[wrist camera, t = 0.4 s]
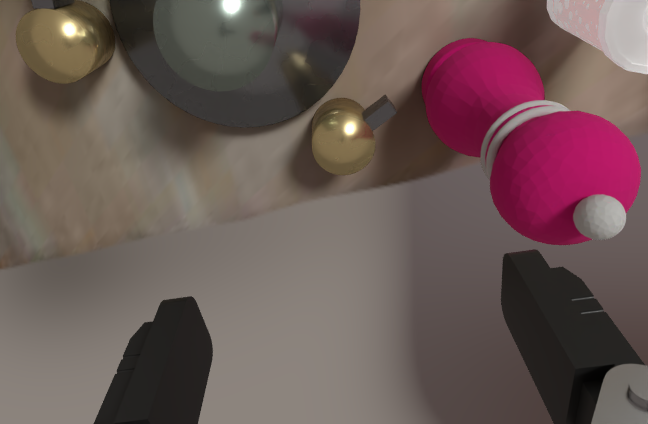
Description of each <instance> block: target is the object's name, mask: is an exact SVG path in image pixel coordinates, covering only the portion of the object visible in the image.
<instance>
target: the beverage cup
mask: <svg viewBox="0 0 648 424" xmlns="http://www.w3.org/2000/svg"><path fill="white" fill-rule="evenodd" d="M547 10H548V13H549V15H550V18H551V20H552V21H553V22H554V23H556V24H557V25H558V26H559V27H560V28H562V29H564V30H566V31H568V32H569V33H571V34H573V35H575V36H576V37H578V38H580V39H582V40H584V41H585V42H587V43H589V44H591V45H592V46H594V47H596V48H598V49H599V50H601V51H603V52H604V54H605V55H606V56H607V57H608V58H610V59H611V60H612V61H613V62H614V63H616V64H617V65H618V66H620V67H622V68H623V69H625V70H628V71H633V72H638V73H643V74H648V0H547Z"/></svg>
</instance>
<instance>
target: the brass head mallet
mask: <svg viewBox="0 0 648 424" xmlns="http://www.w3.org/2000/svg"><path fill="white" fill-rule="evenodd" d="M31 1H32V5H33V8H38V9H36V10H33V11H30V12H28V13H27V14H26V15H24V16H23V17H22V19H21V20H20V22H19V23H18V26H17V30H16V43H17V47H18V50H19V52H20V54H21V56H22V58H23V60H24V61H25V63H26V64H27V65H28V66H29V67H30V68H31V69H32V70H33V71H34V72H35V73H36V74H38V75H39V76H41V77H43V78H44V79H46V80H49V81H52V82H55V83H62V84H67V83H73V82H76V81H78V80H80V79H81V78H83V77H85V76H86V75H88V74H89V73H91V72H92V71H94V70H95V69H97V68H99V67H100V66H102V65H103V64H105V63H106V62H107V61H108V60H109V59H110V58H111V56H112V54H113V52H114V48H115V36H114V32H113V29H112V27H111V25H110V23H109V21H108V20H107V18H106V17H105V16H104V15H103V14H102V13H101V12H100V11H99V10H98V9H97V8H95V7H94V6H92V5H90V4H88V3H86V2H83V1H79V0H31Z"/></svg>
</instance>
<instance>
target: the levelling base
mask: <svg viewBox="0 0 648 424" xmlns="http://www.w3.org/2000/svg"><path fill="white" fill-rule="evenodd" d="M110 5H111V10H112V14H113V18H114V22H115V25H116V28H117V31H118V33H119V36H120V38H121V41H122V43H123V45H124V47H125V49H126V51H127V53H128V55H129V56H130V58H131V60H132V61H133V63H134V64H135V66H136V67H137V69H138V70H139V71H140V73H141V74H142V75H143V76H144V77H145V79H146V80H147V81H148V82H149V83H150V84H151V85H152V86H153V87H154V88H155V89H156V90H157V91H158V92H159V93H160V94H161V95H162V96H164V97H165V98H166V99H168V100H169V101H170V102H172V103H173V104H174V105H176V106H177V107H179V108H181V109H182V110H184V111H186V112H187V113H189V114H192V115H194V116H196V117H198V118H201V119H203V120H206V121H209V122H213V123H216V124H221V125H226V126H232V127H260V126H265V125H271V124H275V123H278V122H281V121H284V120H287V119H289V118H291V117H294V116H296V115H298V114H300V113H301V112H303V111H305V110H306V109H308V108H309V107H311V106H312V105H313V104H315V103H316V102H317V101H318V100H319V99H320V98H322V97H323V96H324V95H325V94H326V92H327V91H328V90H329V89H330V88H331V87H332V86H333V85H334V83H335V82H336V80H337V79H338V77H339V76H340V75H341V73H342V71H343V69H344V67H345V66H346V64H347V62H348V60H349V57H350V55H351V52H352V49H353V47H354V44H355V40H356V35H357V31H358V26H359V17H360V0H110ZM396 113H397V111H396V109H395V107H394V105H393V104H392V102H391V101H390V100H389V99H388V97H387V96H386V95H384V96H383V97H381V98H380V99H379V100H378V101H376V102H375V103H374V104H372V105H371V106H370V107H368V108H367V109H366V110H364V108H363V107H362V106H361V105H360V104H358V103H357V102H355V101H353V100H351V99H347V98H336V99H332V100H329V101H327V102H326V103H324V104H323V105H321V106H320V107H319V109H318V110H317V111H316V113H315V115H314V117H313V121H312V152H313V155H314V158H315V160H316V162H317V163H318V164H319V165H320V166H321V167H322V168H323V169H324V170H326V171H328V172H330V173H333V174H337V175H349V174H353V173H356V172H358V171H360V170H361V169H363V168H364V167H365V166H366V165H367V164H368V163H369V162H370V160H371V159H372V157H373V155H374V151H375V138H374V135H373V130H375V129H376V128H377V127H379V126H380V125H381V124H383V123H384V122H385V121H387V120H388V119H389V118H391V117H392V116H393V115H395V114H396Z"/></svg>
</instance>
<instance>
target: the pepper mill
mask: <svg viewBox="0 0 648 424" xmlns="http://www.w3.org/2000/svg"><path fill="white" fill-rule="evenodd" d="M422 96H423V100H424V103H425V105H426V113H427V117H428V121H429V124H430V126H431V128H432V130H433V131H434V132H435V134H436V135H437V136H438V137H439V139H440V140H441V141H442V142H443V143H444V144H446V145H447V146H448V147H450V148H451V149H453V150H455V151H457V152H459V153H462V154H465V155H468V156H474V157H481V165H482V168H483V171H484V173H485V175H486V176H487V178H488V179H489V180H490V190H491V195H492V199H493V202H494V204H495V206H496V208H497V210H498V211H499V213H500V215H501V216H502V217H503V219H505V221H506V222H507V223H508V224H509V225H510V226H511V227H512V228H513V229H514V230H516V231H517V232H518V233H520V234H521V235H523V236H525V237H528V238H530V239H532V240H534V241H538V242H542V243H546V244H552V245H570V244H578V243H582V242H585V241H589V240H592V239H595V240H605V239H609V238H611V237H613V236H615V235H617V234H618V233H619V232H620V231H621V230H622V229H623V227H624V225H625V222H626V213H627V211H628V210H629V208H630V207H631V206H632V204H633V202H634V200H635V198H636V196H637V193H638V189H639V185H640V177H641V167H640V163H639V159H638V156H637V153H636V151H635V149H634V147H633V145H632V144H631V142H630V140H629V139H628V138H627V137H626V136H625V135H624V134H623V133H622V132H621V131H620V130H619V129H618V128H617V127H616V126H615V125H614V124H612V123H611V122H609V121H607V120H606V119H604V118H602V117H599V116H597V115H593V114H589V113H585V112H581V111H570V110H569V109H568V108H566V107H565V106H563V105H561V104H559V103H556V102H552V101H547V100H544V99H545V97H544V87H543V83H542V80H541V78H540V75H539V73H538V71H537V70H536V68H535V66H534V65H533V63H532V62H531V61H530V60H529V59H528V58H527V57H526V56H524V55H523V54H522V53H521V52H519V51H518V50H517V49H515V48H513V47H511V46H509V45H505V44H502V43H495V42H487V41H484V40H481V39H475V38H467V39H461V40H457V41H455V42H452V43H450V44H448V45H446V46H445V47H443V48H442V49H441V50H440V51H439V52H438V53H436V54H435V55H434V57H433V58H432V59H431V60H430V62H429V63H428V65H427V67H426V69H425V72H424V75H423V78H422Z"/></svg>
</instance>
